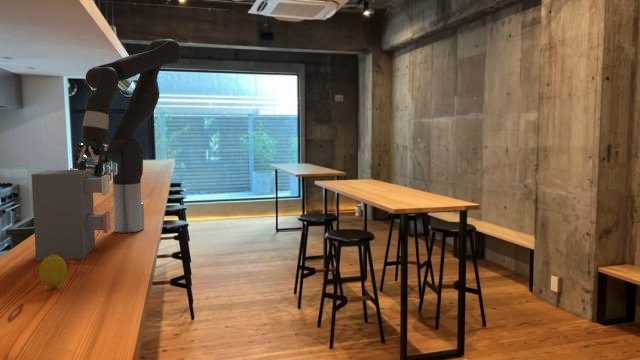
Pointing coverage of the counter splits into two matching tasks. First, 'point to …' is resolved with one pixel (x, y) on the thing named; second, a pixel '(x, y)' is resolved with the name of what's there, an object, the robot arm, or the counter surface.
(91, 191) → the upper plunger
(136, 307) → the counter surface
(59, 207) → the grey dispenser box
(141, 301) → the counter surface
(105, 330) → the counter surface
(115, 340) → the counter surface
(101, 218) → the lower plunger
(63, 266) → the lemon
